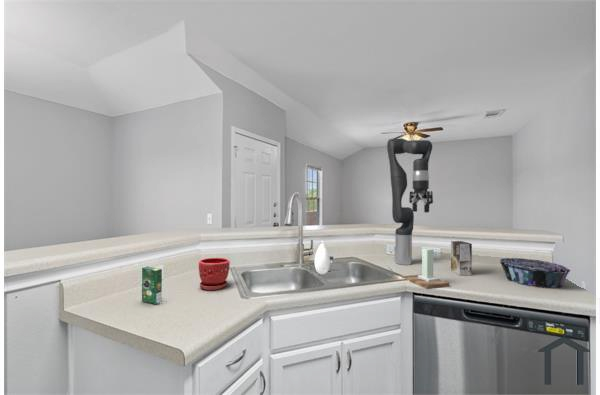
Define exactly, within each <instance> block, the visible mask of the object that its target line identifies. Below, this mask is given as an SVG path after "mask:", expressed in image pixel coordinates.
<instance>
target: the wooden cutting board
mask: <svg viewBox="0 0 600 395" xmlns="http://www.w3.org/2000/svg"><path fill="white" fill-rule="evenodd" d="M418 275H419V274H413V275H404V279H405V278H406V279H407V280H406V281H408V280H409V281H408V282H410V283H412V284H415V285H417V286H419V287H421V288H424V289H426V290H430V289H437V288H445V287H446V288H447V287H449V286H450V282H448V281H445V280H442V279H440V278H437V279H438V281H432V282H428V281H425V280H423V279H420V278H418ZM420 275H422V273H420Z"/></svg>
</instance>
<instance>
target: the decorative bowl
mask: <svg viewBox="0 0 600 395" xmlns="http://www.w3.org/2000/svg"><path fill="white" fill-rule="evenodd" d="M499 264H500V265H501V267H502V270H503V272H504V275H505V277H506V279H507V280H508V281H510V282H512V283H516V284H519V285H525V286H527V287H535V288H540V287H541V288H544V287H545V288H546V289H557V288H562V286H563V284H564V283H565V280H566V278H567V277H568V274H569V273H570V272H571V269H569V268H568V267H566V266H565V265H561V264H558V263H555V262H549V261H546V260H545V261H544V260H540V259H530V258H529V259H528V258H519V257H505V258H504V257H503V258H501V259H500V261H499Z"/></svg>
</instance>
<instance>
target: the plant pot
mask: <svg viewBox="0 0 600 395" xmlns="http://www.w3.org/2000/svg"><path fill="white" fill-rule="evenodd" d="M230 262H231V261H230V259H228V258H223V257H207V258H203V259H200V260H199V261H198V273H199V278H200V281H201V282H199V287H200V288H201V289H204V290H205V291H206V290H208V291H213V290H214V291H215V290H220V289H223V288H224V287H226V286H227V284H228V282H227V278H228V276H229V274H230V265H231V264H230Z"/></svg>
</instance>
